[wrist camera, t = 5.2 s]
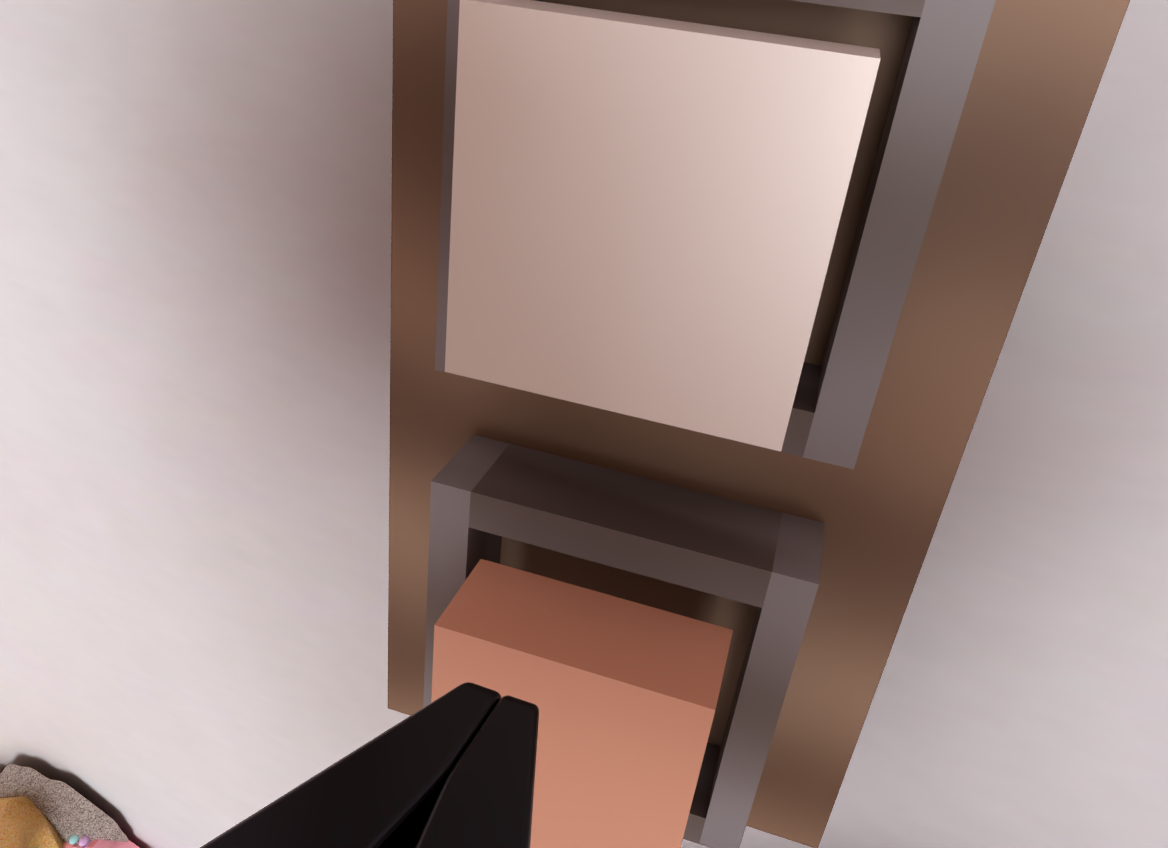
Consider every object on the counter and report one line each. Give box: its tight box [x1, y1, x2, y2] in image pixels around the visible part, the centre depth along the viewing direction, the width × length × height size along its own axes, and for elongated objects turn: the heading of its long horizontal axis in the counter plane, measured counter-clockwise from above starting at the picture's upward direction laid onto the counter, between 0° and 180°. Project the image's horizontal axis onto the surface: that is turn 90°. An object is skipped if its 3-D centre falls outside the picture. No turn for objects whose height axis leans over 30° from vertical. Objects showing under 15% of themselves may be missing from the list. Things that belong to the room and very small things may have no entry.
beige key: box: [445, 0, 881, 451], centre depth 12 cm, size 5×5×2 cm
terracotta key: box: [431, 559, 733, 848], centre depth 16 cm, size 5×5×2 cm
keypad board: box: [388, 0, 1130, 848], centre depth 15 cm, size 29×11×5 cm, turn 174°
